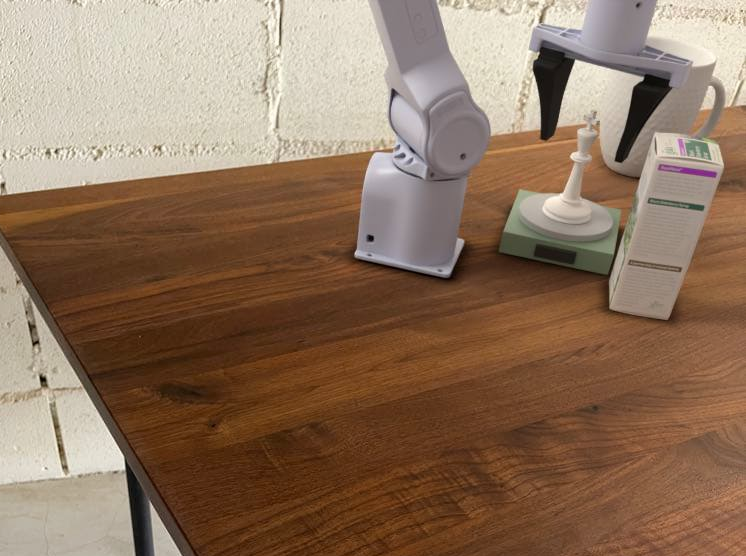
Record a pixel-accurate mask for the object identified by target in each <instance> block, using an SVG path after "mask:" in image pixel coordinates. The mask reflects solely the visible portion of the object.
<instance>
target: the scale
mask: <svg viewBox="0 0 746 556" xmlns="http://www.w3.org/2000/svg"><path fill="white" fill-rule="evenodd" d="M560 194H561V193H557V192H556V193H555V192H551V193H550V192H549V193H548V192H547V193H540V192H537V191H536V192H535V191H531V190H527V189H520V188H519V190H518V192H517V194H516V198H515V200H514V202H513V205H512V208H511V210H510V213H509V215H508V218H507V220H506V223H505V226H504V228H503V231H502V233H501V239H500V243H499V248H498V253H502V254H507V255H511V256H516V257H519V258H520V257H521V258H525V259H529V260H534V261H539V262H543V263H548V264H554V265H558V266H562V267H568V268H572V269H577V270H582V271H586V272H591V273H595V274H599V275H600V274H601V275H605V276H608V275H609V272H610V268H611V266H612V263H613V259H614V256H615V252H616V246H617V239H618V234H619V228H620V224H621V223H620V222H621V217H622V211H623V210H622V208H621V209H620V208H615V207H610V206H606V205H600V204H597V203H596V202H593V201H591V200H588V199H586V198H582V197H581V198H582V201H584V202H585V203H587V204H588V205H589V206H590V207H591V210H592V212H591V218H590V220H589V221H587V222H585V223H582V224H567V223H562V222H558V221H555V220H553V219H551V218H549V217H548V216H546V215H545V214H544V212H543V210H542V209H543V206H544V204H545V201H546V200H547V199H549V198H551V197H555V196H559V195H560Z"/></svg>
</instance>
